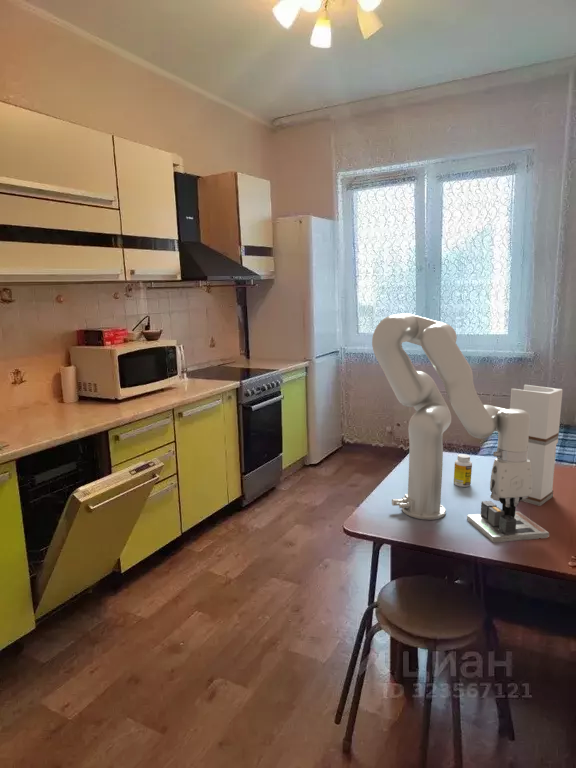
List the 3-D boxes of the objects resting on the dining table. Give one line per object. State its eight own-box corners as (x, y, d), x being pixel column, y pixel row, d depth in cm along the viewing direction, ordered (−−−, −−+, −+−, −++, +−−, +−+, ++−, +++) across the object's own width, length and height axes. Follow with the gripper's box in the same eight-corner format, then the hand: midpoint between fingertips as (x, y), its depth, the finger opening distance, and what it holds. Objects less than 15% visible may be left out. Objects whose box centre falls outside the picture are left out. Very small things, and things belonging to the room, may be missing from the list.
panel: (492, 542, 138) (494, 522, 137) (466, 519, 151) (468, 501, 151) (548, 537, 140) (550, 518, 139) (518, 516, 154) (519, 498, 153)
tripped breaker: (493, 526, 143) (494, 511, 143) (487, 521, 146) (488, 506, 146) (503, 525, 144) (504, 510, 143) (497, 520, 147) (498, 506, 146)
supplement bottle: (465, 488, 175) (467, 459, 173) (450, 484, 179) (452, 455, 177) (473, 484, 179) (475, 455, 177) (458, 480, 183) (460, 452, 181)
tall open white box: (552, 496, 169) (562, 389, 162) (540, 506, 161) (549, 393, 155) (517, 487, 177) (525, 384, 171) (503, 495, 169) (511, 388, 163)
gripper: (494, 460, 137) (490, 526, 140) (546, 457, 140) (541, 522, 143) (479, 452, 145) (476, 515, 148) (528, 449, 147) (524, 511, 150)
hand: (508, 518), depth 145 cm, fingers closed
